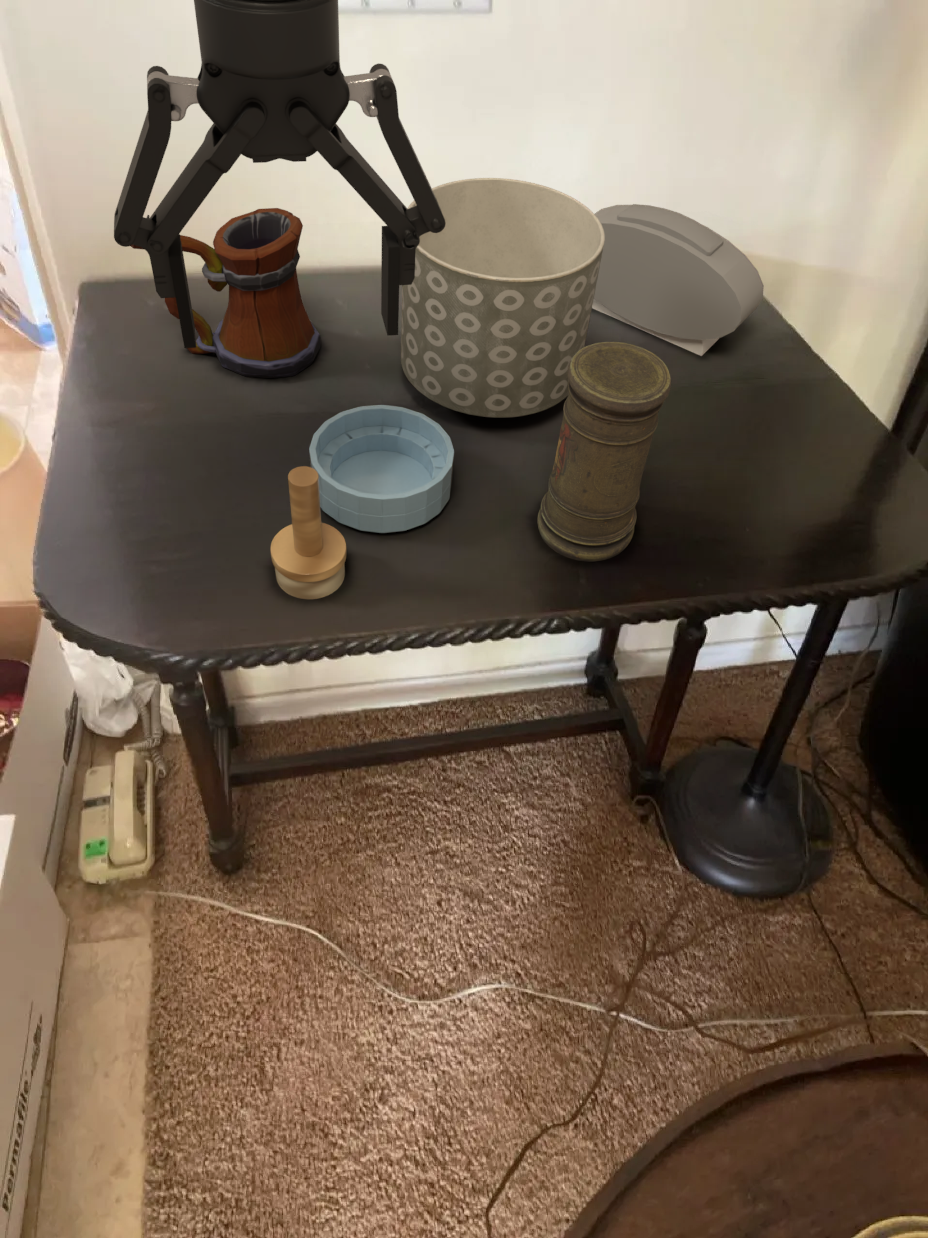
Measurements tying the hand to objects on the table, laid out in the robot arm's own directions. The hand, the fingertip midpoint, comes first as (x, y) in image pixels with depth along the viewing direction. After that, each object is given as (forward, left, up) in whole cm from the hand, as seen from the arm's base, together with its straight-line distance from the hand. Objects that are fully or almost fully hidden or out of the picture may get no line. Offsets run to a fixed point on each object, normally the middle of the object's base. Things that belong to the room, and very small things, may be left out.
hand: (291, 330), depth 66 cm
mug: (-4, +34, -25) cm, 42 cm away
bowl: (+8, +10, -25) cm, 28 cm away
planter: (+22, +25, -25) cm, 42 cm away
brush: (0, 0, -25) cm, 25 cm away
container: (+26, +2, -25) cm, 36 cm away
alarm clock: (+44, +35, -25) cm, 61 cm away
